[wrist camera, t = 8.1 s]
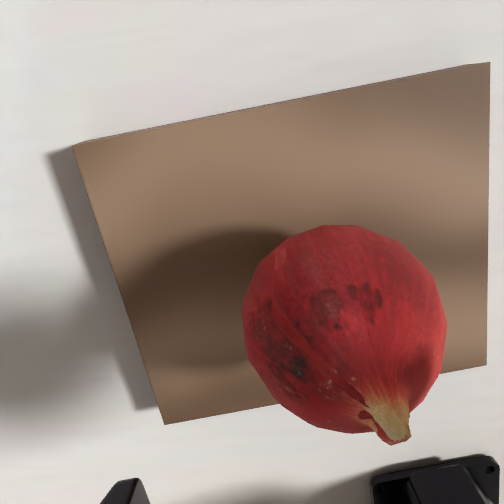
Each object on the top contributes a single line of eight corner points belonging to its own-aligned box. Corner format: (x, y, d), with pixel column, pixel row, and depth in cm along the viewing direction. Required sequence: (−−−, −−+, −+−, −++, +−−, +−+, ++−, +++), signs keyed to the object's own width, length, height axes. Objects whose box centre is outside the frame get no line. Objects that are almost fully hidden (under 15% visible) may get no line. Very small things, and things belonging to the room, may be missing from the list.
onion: (219, 314, 17) (211, 497, 9) (272, 175, 15) (315, 266, 7) (352, 353, 18) (442, 547, 10) (418, 227, 16) (585, 354, 8)
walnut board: (468, 345, 20) (486, 365, 18) (169, 401, 20) (164, 425, 19) (466, 64, 15) (490, 62, 14) (85, 141, 16) (71, 146, 14)
